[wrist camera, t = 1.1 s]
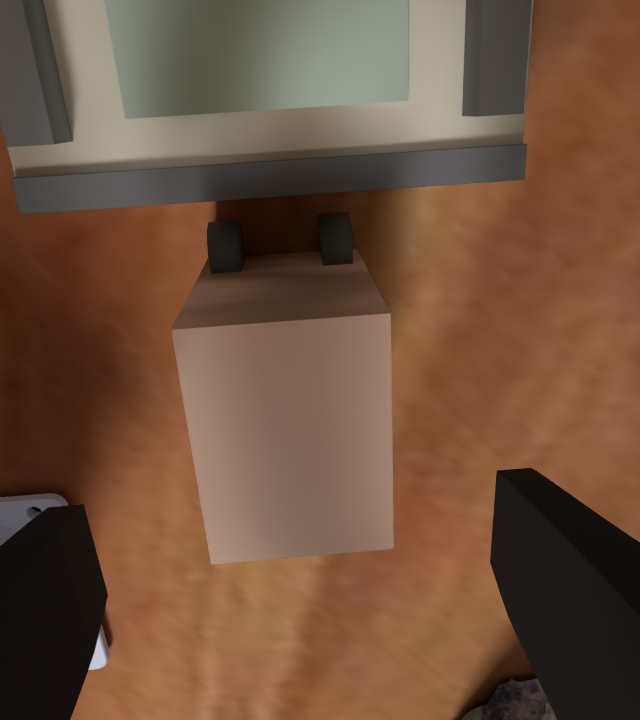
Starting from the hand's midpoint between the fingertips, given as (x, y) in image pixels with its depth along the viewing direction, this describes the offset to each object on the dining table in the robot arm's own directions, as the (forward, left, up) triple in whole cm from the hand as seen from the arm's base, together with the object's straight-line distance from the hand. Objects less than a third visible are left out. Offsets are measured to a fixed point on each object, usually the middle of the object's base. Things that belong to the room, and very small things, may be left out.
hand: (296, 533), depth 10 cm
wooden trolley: (0, 0, -9) cm, 9 cm away
